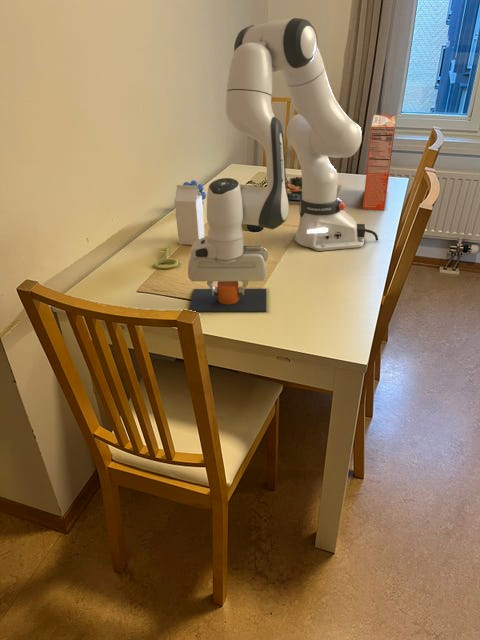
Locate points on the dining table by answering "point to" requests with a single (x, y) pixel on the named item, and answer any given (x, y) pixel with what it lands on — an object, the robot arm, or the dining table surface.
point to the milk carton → (189, 214)
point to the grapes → (198, 188)
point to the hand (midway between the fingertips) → (228, 294)
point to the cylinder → (228, 292)
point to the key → (166, 260)
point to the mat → (247, 303)
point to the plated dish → (294, 189)
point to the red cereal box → (379, 161)
